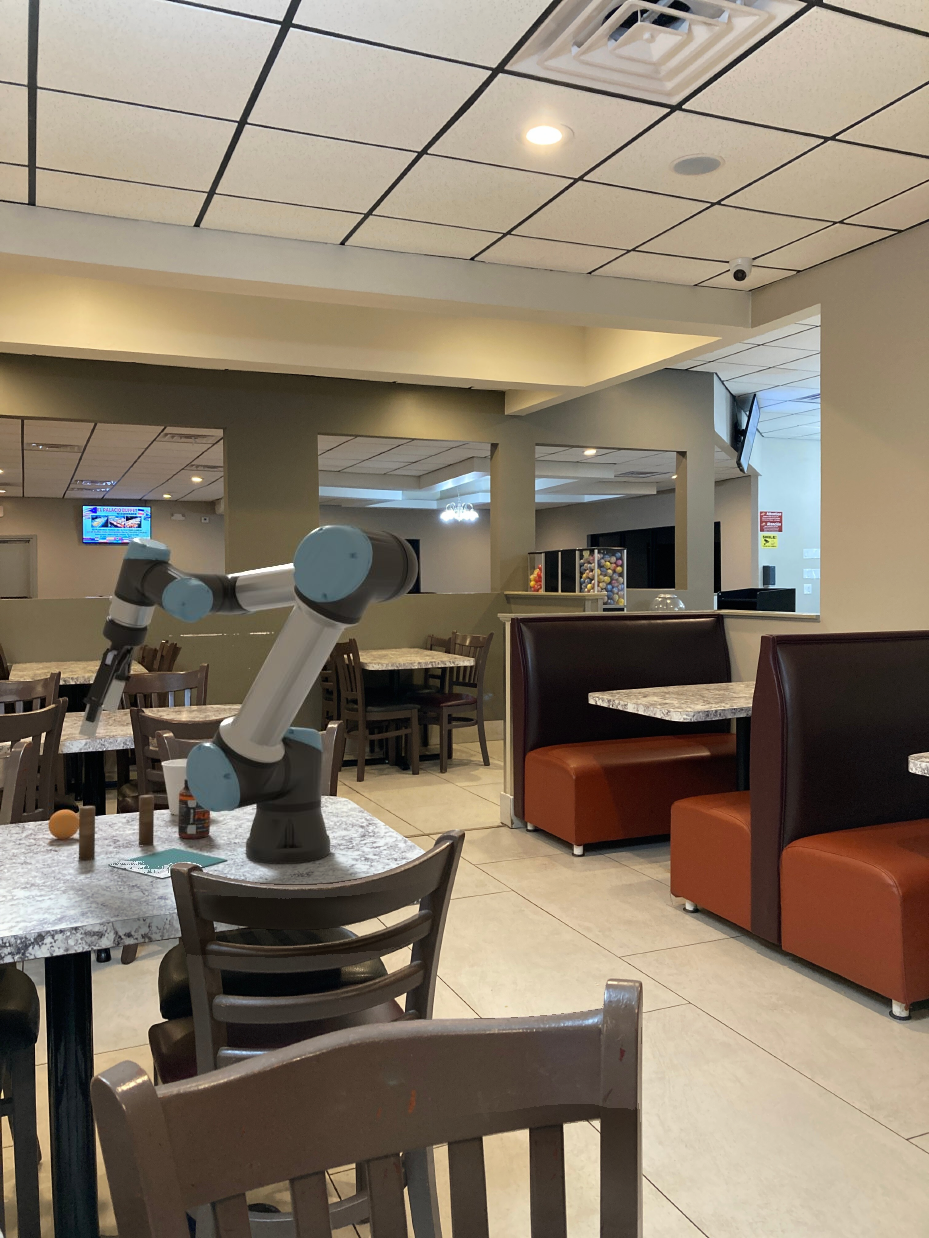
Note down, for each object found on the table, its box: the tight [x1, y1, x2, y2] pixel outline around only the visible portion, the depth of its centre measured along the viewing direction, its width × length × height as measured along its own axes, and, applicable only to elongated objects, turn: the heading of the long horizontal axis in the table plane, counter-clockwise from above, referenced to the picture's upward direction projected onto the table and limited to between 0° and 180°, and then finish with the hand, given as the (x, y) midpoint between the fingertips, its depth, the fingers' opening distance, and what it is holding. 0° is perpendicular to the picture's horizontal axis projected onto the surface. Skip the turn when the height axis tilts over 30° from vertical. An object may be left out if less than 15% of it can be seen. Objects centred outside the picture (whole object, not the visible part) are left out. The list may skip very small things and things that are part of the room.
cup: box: [161, 758, 187, 816], centre depth 203 cm, size 10×10×11 cm
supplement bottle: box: [177, 778, 211, 840], centre depth 183 cm, size 6×6×11 cm
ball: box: [48, 809, 79, 840], centre depth 179 cm, size 6×6×6 cm
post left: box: [78, 805, 96, 861], centre depth 165 cm, size 3×3×9 cm
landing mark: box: [108, 847, 228, 873], centre depth 163 cm, size 14×14×1 cm
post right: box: [138, 794, 155, 847], centre depth 176 cm, size 3×3×9 cm
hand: (98, 722), depth 178 cm, fingers open, 13 cm apart
